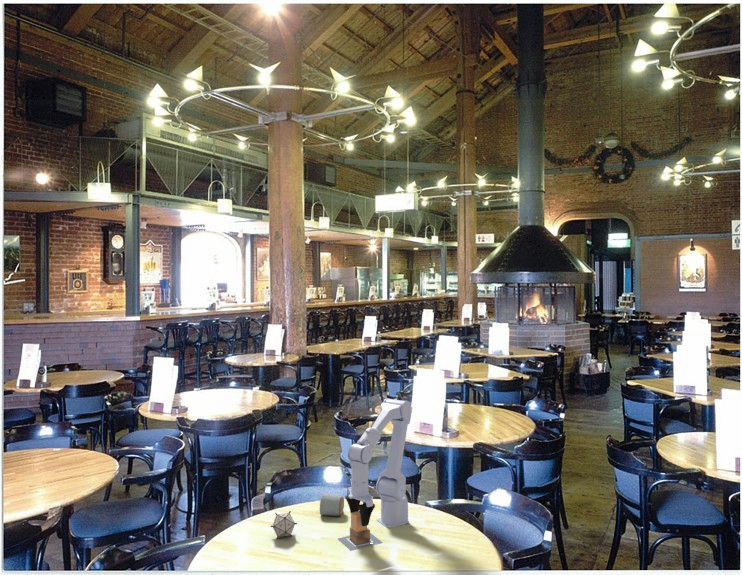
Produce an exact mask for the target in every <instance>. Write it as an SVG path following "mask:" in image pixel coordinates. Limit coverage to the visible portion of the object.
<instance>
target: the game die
mask: <svg viewBox="0 0 742 575" xmlns="http://www.w3.org/2000/svg"><path fill="white" fill-rule="evenodd" d="M291 511H292V510H289V512H287V513H279V514H278V512H275V513H274V514H275V518H274V521H273V523H272V525H270V526H269V527H270V528H272V530H274V533H275V535H276V536H277V537H276V540H278V539H279V538H280V537H282V538H283V537H288V536H290V538H291V537H293V535H292V534H293V530H294V527H295V525H297V524H298V522H296V521H294V518H293V517H292V515H291Z"/></svg>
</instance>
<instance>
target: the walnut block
mask: <svg viewBox="0 0 742 575" xmlns="http://www.w3.org/2000/svg"><path fill="white" fill-rule="evenodd" d="M370 533H371V529H370V528H369V527H367V530H364V531H360V532H355V531H354V530H353V529H352V528H351V526H350V527H349V536H350V540H351V541H352V542H354V543H355V544H356V545H360V544H364V543H368V542H370Z"/></svg>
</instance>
